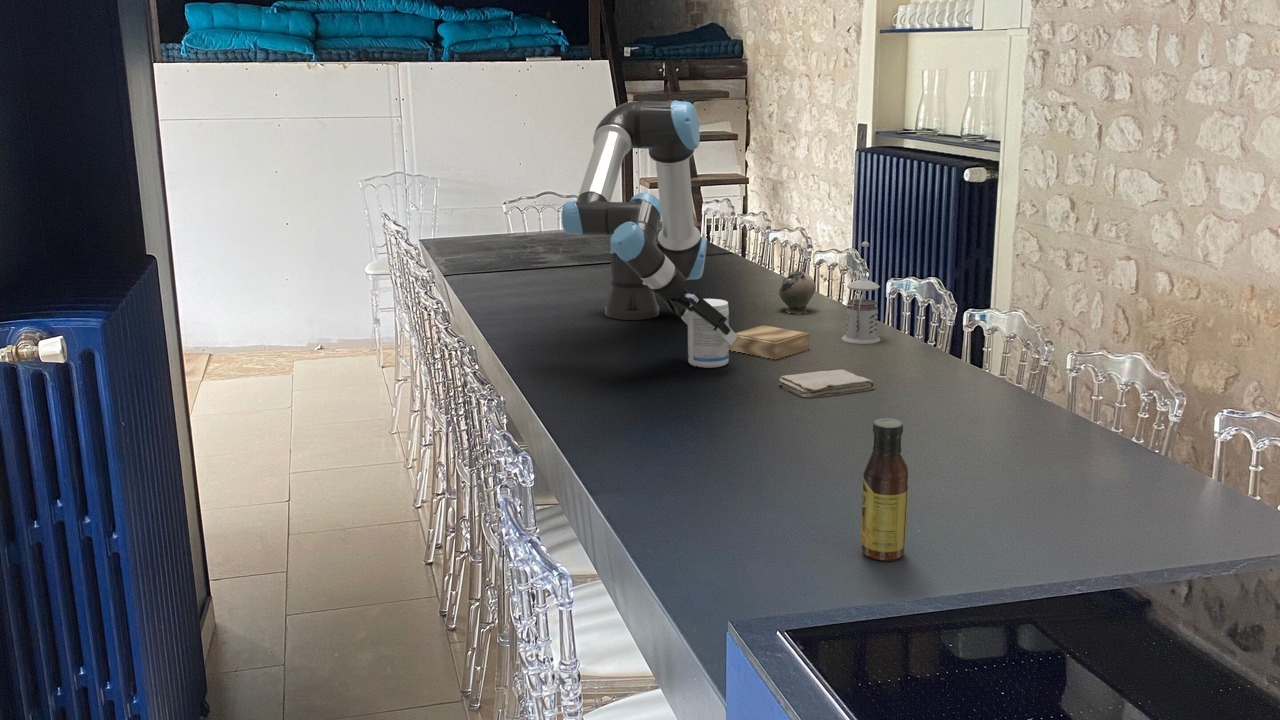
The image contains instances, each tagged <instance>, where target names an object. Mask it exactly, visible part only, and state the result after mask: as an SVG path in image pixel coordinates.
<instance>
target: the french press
mask: <svg viewBox="0 0 1280 720" xmlns="http://www.w3.org/2000/svg"><path fill="white" fill-rule="evenodd" d="M861 247H864V252H866V248H867V247H870V243H869V242H868V241H863V242H862V243H861ZM863 256H864V257H863V274H865V273H866V272H865V270H866V269H865V268H866V253H864V255H863ZM846 287H847V289H849V290H853V291H859V292H861V291H862V294H861V295H860V298H857V294H856V293H855V294H854V296H853V298H852V299H849V300H848V301H847V302H848V304H850V305H847V306H846V316H845V317H846V320H845V322H846V323H845V327H846V328H845V334H844V335H843V336H842V337H841V340H842V341H844V342H846V343H852V344H862V345H863V344H865V345H866V344H869V345H870V344H876V343H879V342H881V338H880V337H879V336H878V331H877V330H878V317H879V316H878V315H879V308H878V307H877V306H875V305H877V303H878V302H877V300H873V299H866V298H864V293H865V292H867V291H868V292H869V291H876V290H879V288H880V287H881V285H879V284H878V283H876V282H873V281H871V280H868V279H865V275H863V278H862V279H858V280H854V281H851V282H850V283H849V284H847V285H846Z"/></svg>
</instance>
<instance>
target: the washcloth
mask: <svg viewBox="0 0 1280 720" xmlns="http://www.w3.org/2000/svg"><path fill="white" fill-rule="evenodd" d="M779 385H781V386H780V387H782V389H784V390H785V391H788V392H790V393H793V394H795V395H797V396H798V397H800V398H804V399H805V398H818V397H819V398H820V397H829V396H838V395H843V394H851V393H859V392H865V391H870V390H871V391H872V390H873V389H874V388H875V386H876V383H875V381H873V380H871V379H869V378H867V377H864V376H858V375H857V374H855V373H852V372H850V371H849V370H848V371H847V370H846V369H834V370H823V371H822V370H821V371H820V370H818V371H813V372H811V371H810V372H805V373H796V374H788V375H787V374H786V375H781V376H780V377H779V383H778V386H779Z"/></svg>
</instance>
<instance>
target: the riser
mask: <svg viewBox="0 0 1280 720" xmlns="http://www.w3.org/2000/svg"><path fill="white" fill-rule="evenodd" d="M735 334H736V335H737V336H738V337H737V338H736V340H735V341H734V342H733V344H732V345H729V350H731V351H730V352H733V351H736V352H735V353H737V352H742V353H746V354H745V355H747V354H751V355H750V356H752V355H757V356H761V357H760V358H762V357H765V358H764V359H767V358H771V359H770V360H772V359H775V360H774V361H777V360H776V359H778V360H780V359H779V358H781V359H783V358H782V357H784V358H786V357H785V356H787V357H789V355H790V356H792V354H793V355H796V354H799V353H802V351H803V352H805V350H806V351H808V349H809V350H810V333H808V332H804V331H798V330H792V329H787V328H783V327H782V328H781V327H775V326H771V325H759V326H756V327H752V328H749V329H745V330H741V331H738V332H735ZM798 352H799V353H798ZM742 353H741V354H742ZM795 353H796V354H795ZM757 356H756V357H757Z"/></svg>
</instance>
